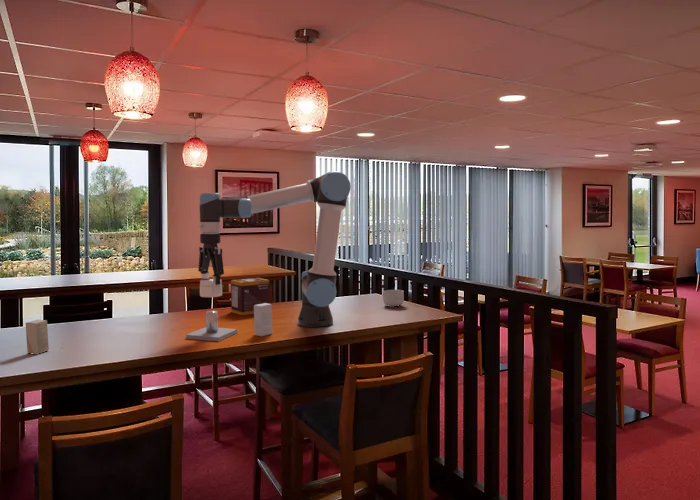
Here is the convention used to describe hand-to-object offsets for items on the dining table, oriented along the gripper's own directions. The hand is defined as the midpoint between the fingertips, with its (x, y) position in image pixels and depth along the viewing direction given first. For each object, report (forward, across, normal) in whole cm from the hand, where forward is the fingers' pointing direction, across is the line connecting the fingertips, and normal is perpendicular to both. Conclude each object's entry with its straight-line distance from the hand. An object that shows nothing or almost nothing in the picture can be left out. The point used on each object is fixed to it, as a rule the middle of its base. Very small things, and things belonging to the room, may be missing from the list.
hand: (211, 291), depth 202 cm
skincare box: (+18, +12, +16) cm, 27 cm away
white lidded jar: (+2, 0, 0) cm, 2 cm away
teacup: (+17, +6, +100) cm, 101 cm away
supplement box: (+18, -30, +37) cm, 51 cm away
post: (+16, 0, 0) cm, 16 cm away
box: (+18, -18, -56) cm, 61 cm away
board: (+18, 0, 0) cm, 18 cm away
